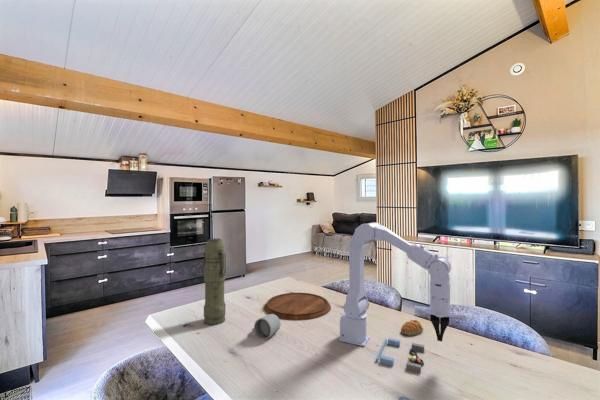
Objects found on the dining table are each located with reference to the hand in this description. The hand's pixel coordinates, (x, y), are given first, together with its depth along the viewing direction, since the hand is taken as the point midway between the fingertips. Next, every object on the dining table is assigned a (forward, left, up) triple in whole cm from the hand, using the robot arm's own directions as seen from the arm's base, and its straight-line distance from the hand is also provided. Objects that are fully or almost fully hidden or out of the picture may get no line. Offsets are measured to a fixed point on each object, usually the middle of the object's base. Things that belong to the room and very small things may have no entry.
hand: (439, 339), depth 93 cm
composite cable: (-7, 0, -8) cm, 11 cm away
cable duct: (-11, 0, -8) cm, 13 cm away
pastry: (-11, +21, -8) cm, 25 cm away
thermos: (-87, -7, -8) cm, 88 cm away
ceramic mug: (-61, -8, -8) cm, 62 cm away
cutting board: (-63, +24, -8) cm, 68 cm away
